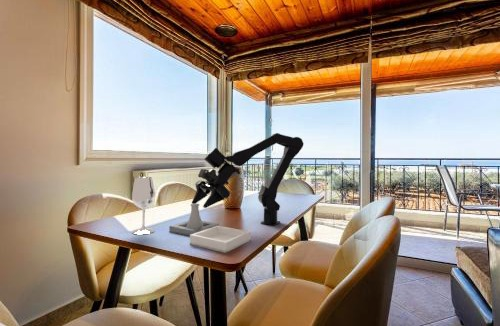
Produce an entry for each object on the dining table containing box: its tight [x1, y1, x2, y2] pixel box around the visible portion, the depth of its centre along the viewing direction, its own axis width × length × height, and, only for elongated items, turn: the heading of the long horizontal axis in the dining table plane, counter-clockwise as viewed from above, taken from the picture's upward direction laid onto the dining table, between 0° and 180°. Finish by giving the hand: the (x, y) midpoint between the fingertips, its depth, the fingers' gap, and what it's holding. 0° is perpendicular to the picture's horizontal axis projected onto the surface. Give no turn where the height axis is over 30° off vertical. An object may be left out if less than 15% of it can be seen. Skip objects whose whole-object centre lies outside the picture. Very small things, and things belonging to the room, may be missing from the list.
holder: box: [168, 220, 220, 237], centre depth 99 cm, size 13×13×2 cm
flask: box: [187, 202, 204, 229], centre depth 99 cm, size 7×7×10 cm
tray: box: [189, 225, 252, 254], centre depth 85 cm, size 14×14×3 cm
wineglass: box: [131, 176, 156, 235], centre depth 96 cm, size 8×8×20 cm
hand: (198, 205), depth 100 cm, fingers open, 9 cm apart
